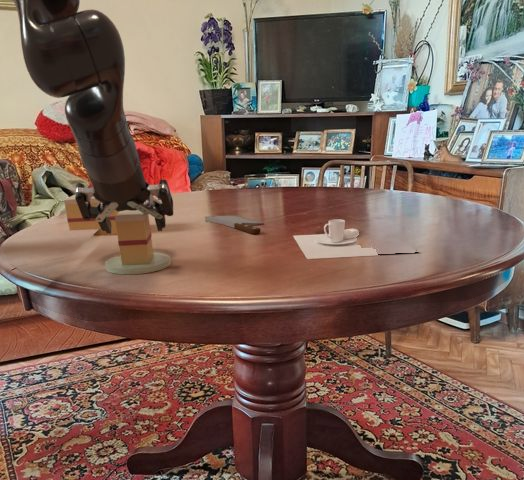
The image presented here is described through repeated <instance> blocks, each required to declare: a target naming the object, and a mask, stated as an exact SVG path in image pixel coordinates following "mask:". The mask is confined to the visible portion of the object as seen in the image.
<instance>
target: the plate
mask: <svg viewBox="0 0 524 480" xmlns="http://www.w3.org/2000/svg"><path fill="white" fill-rule="evenodd" d="M171 264H172V259H171V256H170V255H168V254H166V253H162V252H153V257H152V259H151V261H150V263H149V264H133V265H122V261H121V255H117V256H113V257H111V258H108V259H107V260H106V261H104V268H105V271H106V272H108V273H111V274H115V275H140V274H141V275H142V274H149V273H154V272H158V271H162V270H164V269H166V268H168V267H170V266H171Z"/></svg>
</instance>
